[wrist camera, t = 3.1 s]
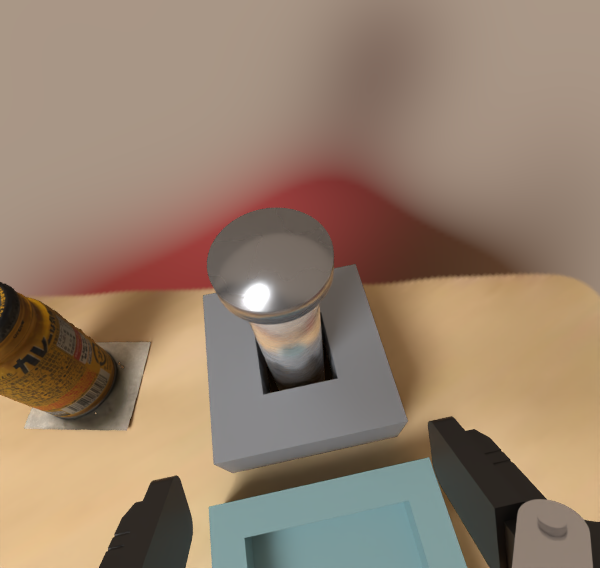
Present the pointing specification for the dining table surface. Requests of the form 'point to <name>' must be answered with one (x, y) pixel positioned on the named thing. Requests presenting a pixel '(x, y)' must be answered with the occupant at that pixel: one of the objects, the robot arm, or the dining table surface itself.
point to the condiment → (65, 369)
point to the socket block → (301, 400)
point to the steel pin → (277, 287)
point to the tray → (341, 524)
